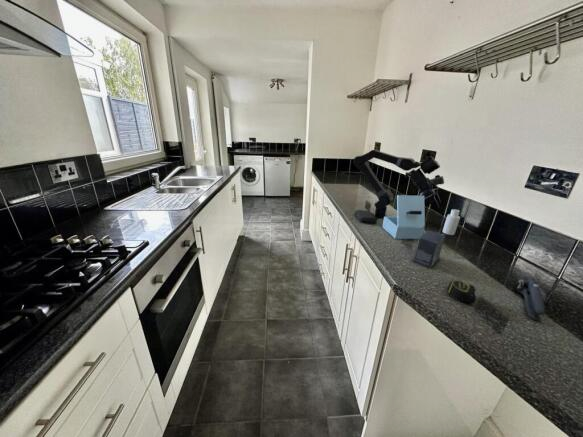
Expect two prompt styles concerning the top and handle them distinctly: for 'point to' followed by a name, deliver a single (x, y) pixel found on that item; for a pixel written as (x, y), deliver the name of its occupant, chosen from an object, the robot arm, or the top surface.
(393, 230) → the light blue box
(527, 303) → the can opener
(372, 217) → the carrying case
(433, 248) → the small box
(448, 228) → the bottle
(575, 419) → the top surface
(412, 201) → the lid
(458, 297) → the tape measure
